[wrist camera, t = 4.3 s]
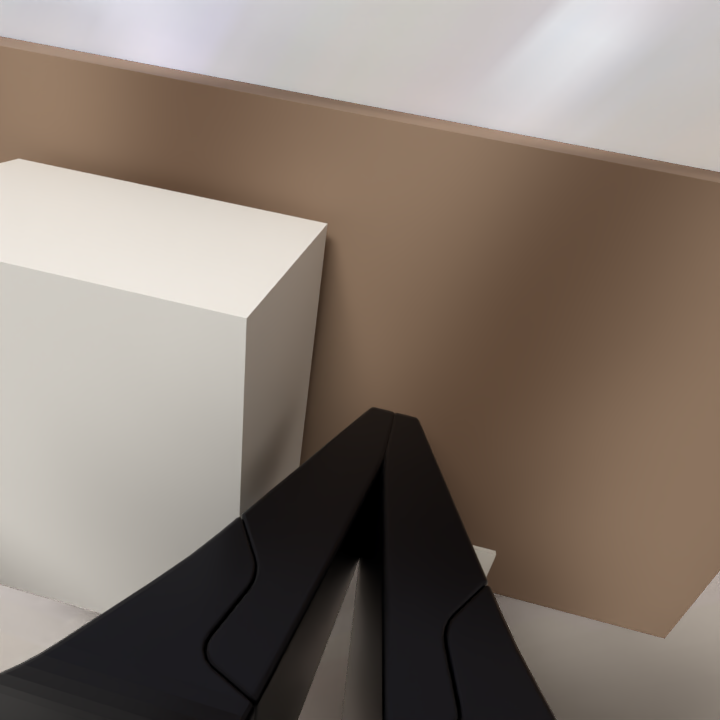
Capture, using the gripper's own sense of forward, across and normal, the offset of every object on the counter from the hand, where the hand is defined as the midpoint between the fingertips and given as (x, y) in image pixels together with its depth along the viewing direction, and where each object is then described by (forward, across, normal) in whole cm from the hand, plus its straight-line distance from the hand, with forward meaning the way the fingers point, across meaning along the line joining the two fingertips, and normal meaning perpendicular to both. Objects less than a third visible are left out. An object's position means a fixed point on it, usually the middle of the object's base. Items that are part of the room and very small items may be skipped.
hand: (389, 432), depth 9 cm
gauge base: (+2, +4, 0) cm, 5 cm away
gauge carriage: (+1, +6, +1) cm, 6 cm away
